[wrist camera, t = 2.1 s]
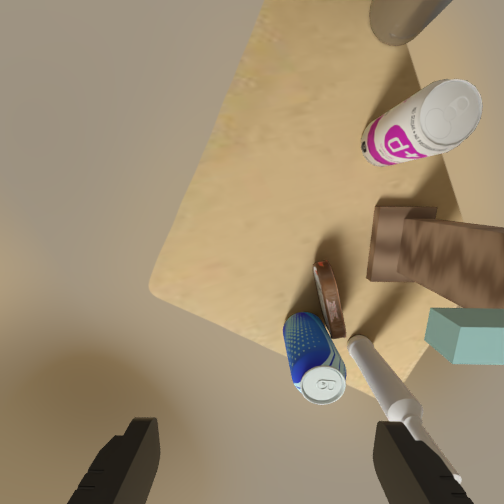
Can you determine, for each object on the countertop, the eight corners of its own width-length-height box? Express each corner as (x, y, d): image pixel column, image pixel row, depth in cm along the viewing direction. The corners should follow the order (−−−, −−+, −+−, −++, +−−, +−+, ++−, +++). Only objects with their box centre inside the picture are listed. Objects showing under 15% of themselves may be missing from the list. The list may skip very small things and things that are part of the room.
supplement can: (377, 177, 43) (439, 167, 28) (349, 140, 42) (400, 110, 27) (415, 144, 42) (501, 117, 27) (388, 106, 40) (463, 54, 26)
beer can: (301, 352, 51) (320, 419, 36) (273, 327, 50) (282, 385, 35) (330, 327, 50) (364, 386, 34) (303, 301, 49) (325, 350, 33)
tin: (336, 322, 50) (352, 346, 42) (322, 325, 50) (335, 350, 42) (323, 254, 47) (337, 266, 38) (307, 258, 47) (318, 271, 39)
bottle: (369, 332, 50) (477, 460, 26) (371, 353, 51) (475, 495, 27) (344, 335, 50) (428, 465, 26) (346, 356, 52) (428, 500, 27)
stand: (375, 206, 44) (606, 225, 15) (429, 206, 44) (770, 227, 15) (366, 278, 47) (543, 409, 18) (417, 278, 47) (677, 411, 18)
